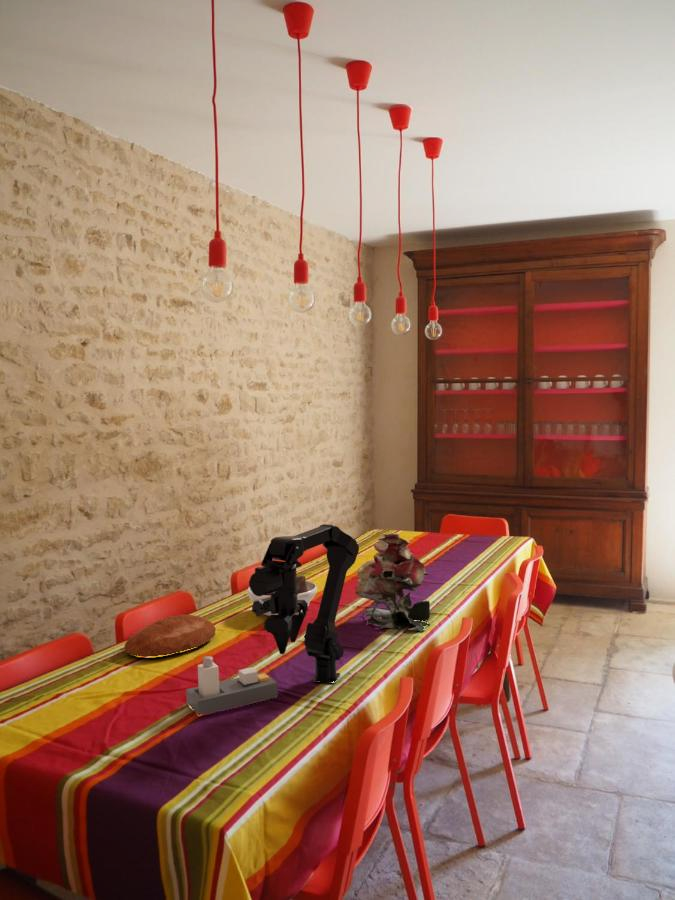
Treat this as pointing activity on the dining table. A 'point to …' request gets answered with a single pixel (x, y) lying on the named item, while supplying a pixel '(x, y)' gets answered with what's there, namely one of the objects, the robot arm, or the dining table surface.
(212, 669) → the plug
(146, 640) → the bread
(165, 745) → the dining table surface
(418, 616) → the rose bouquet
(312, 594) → the white dessert bowl
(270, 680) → the grey boxy piece
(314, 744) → the dining table surface
